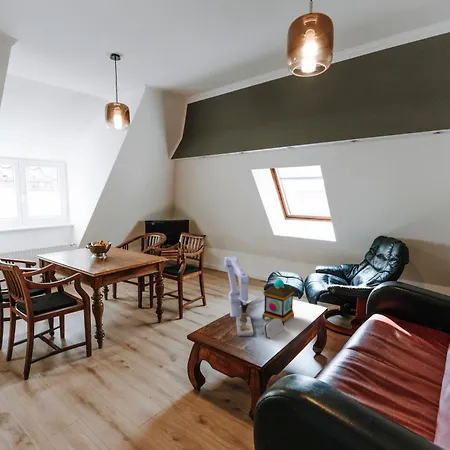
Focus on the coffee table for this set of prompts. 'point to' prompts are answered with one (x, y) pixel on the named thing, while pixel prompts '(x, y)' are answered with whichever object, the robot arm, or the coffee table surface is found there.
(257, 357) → the coffee table surface
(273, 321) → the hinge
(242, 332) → the peg-in-hole board
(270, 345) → the coffee table surface
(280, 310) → the decorative lantern
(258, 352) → the coffee table surface
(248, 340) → the coffee table surface
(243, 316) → the walnut peg
